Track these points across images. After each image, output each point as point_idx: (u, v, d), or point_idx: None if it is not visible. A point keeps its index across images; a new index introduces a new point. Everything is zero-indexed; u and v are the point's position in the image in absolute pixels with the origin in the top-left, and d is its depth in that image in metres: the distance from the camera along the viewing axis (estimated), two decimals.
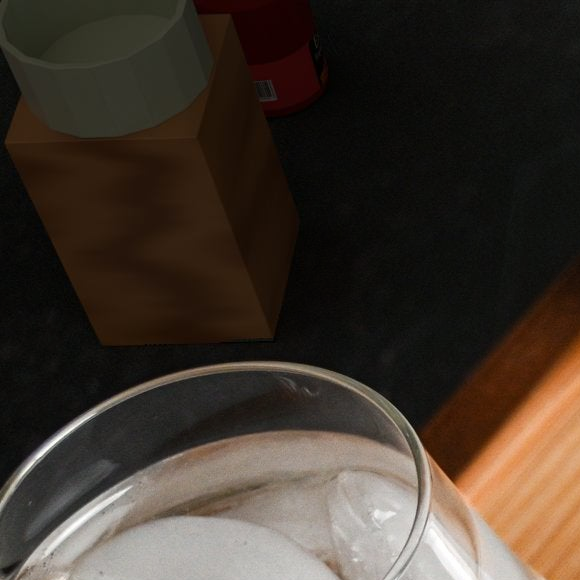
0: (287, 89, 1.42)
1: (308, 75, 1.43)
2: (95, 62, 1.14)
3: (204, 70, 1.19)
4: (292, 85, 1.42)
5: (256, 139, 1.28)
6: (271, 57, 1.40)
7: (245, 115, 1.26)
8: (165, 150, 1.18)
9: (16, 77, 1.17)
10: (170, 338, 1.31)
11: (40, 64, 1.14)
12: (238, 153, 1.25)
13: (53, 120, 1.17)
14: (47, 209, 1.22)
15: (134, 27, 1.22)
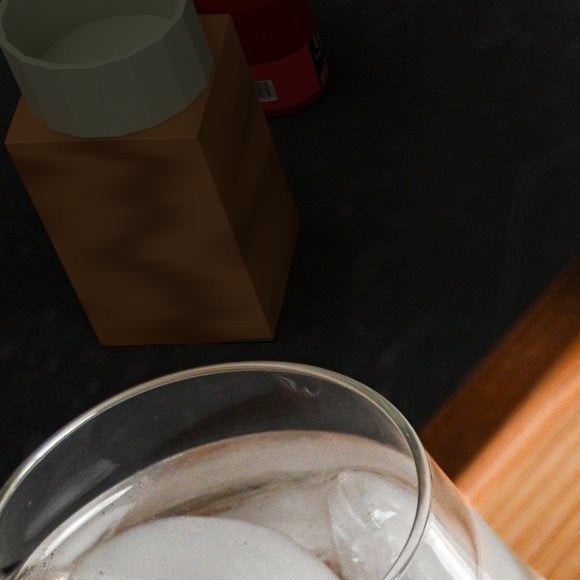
0: (287, 89, 1.42)
1: (308, 75, 1.43)
2: (95, 62, 1.14)
3: (204, 70, 1.19)
4: (292, 85, 1.42)
5: (256, 139, 1.28)
6: (271, 57, 1.40)
7: (245, 115, 1.26)
8: (165, 150, 1.18)
9: (16, 77, 1.17)
10: (170, 338, 1.31)
11: (40, 64, 1.14)
12: (238, 153, 1.25)
13: (53, 120, 1.17)
14: (47, 209, 1.22)
15: (134, 27, 1.22)
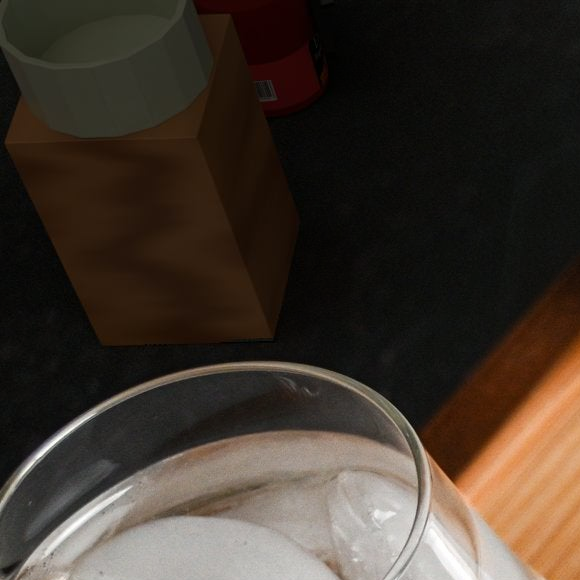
0: (287, 89, 1.42)
1: (308, 75, 1.43)
2: (95, 62, 1.14)
3: (204, 70, 1.19)
4: (292, 85, 1.42)
5: (256, 139, 1.28)
6: (271, 57, 1.40)
7: (245, 115, 1.26)
8: (165, 150, 1.18)
9: (16, 77, 1.17)
10: (170, 338, 1.31)
11: (40, 64, 1.14)
12: (238, 153, 1.25)
13: (53, 120, 1.17)
14: (47, 209, 1.22)
15: (134, 27, 1.22)
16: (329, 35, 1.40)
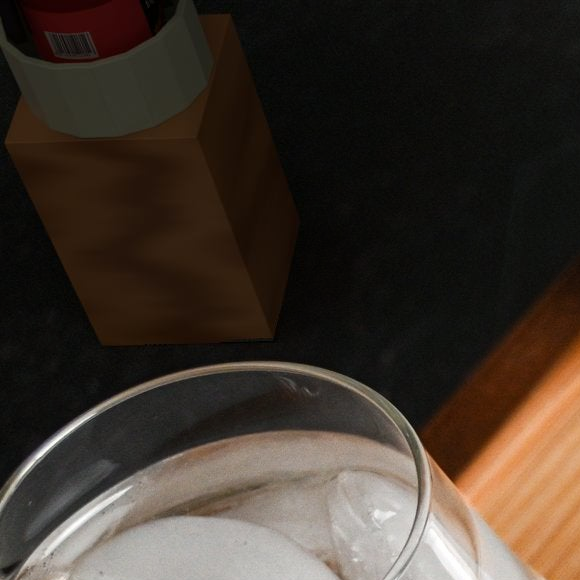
0: (110, 43, 1.15)
1: (138, 27, 1.15)
2: (95, 62, 1.14)
3: (204, 70, 1.19)
4: (117, 38, 1.15)
5: (256, 139, 1.28)
6: (87, 3, 1.12)
7: (245, 115, 1.26)
8: (165, 150, 1.18)
9: (16, 77, 1.17)
10: (170, 338, 1.31)
11: (40, 64, 1.14)
12: (238, 153, 1.25)
13: (53, 120, 1.17)
14: (47, 209, 1.22)
15: None
16: None
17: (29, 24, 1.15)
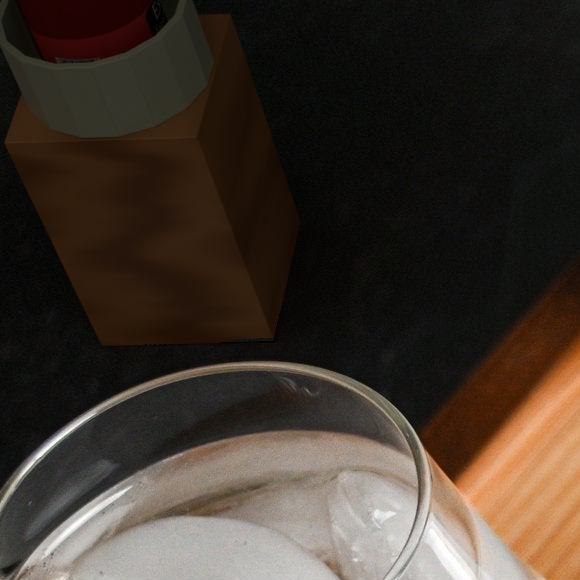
0: None
1: None
2: (95, 62, 1.14)
3: (204, 70, 1.19)
4: None
5: (256, 139, 1.28)
6: (98, 29, 1.14)
7: (245, 115, 1.26)
8: (165, 150, 1.18)
9: (16, 77, 1.17)
10: (170, 338, 1.31)
11: (40, 64, 1.14)
12: (238, 153, 1.25)
13: (53, 120, 1.17)
14: (47, 209, 1.22)
15: None
16: None
17: (40, 50, 1.16)
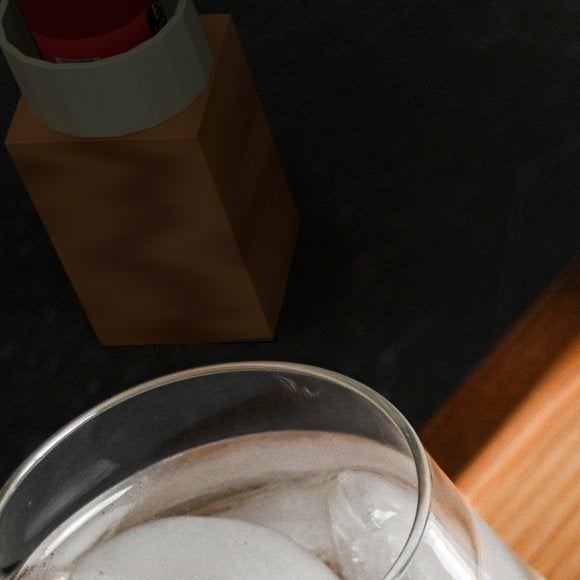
0: None
1: None
2: (95, 62, 1.14)
3: (204, 70, 1.19)
4: None
5: (256, 139, 1.28)
6: (98, 29, 1.14)
7: (245, 115, 1.26)
8: (165, 150, 1.18)
9: (16, 77, 1.17)
10: (170, 338, 1.31)
11: (40, 64, 1.14)
12: (238, 153, 1.25)
13: (53, 120, 1.17)
14: (47, 209, 1.22)
15: None
16: None
17: (40, 50, 1.16)
